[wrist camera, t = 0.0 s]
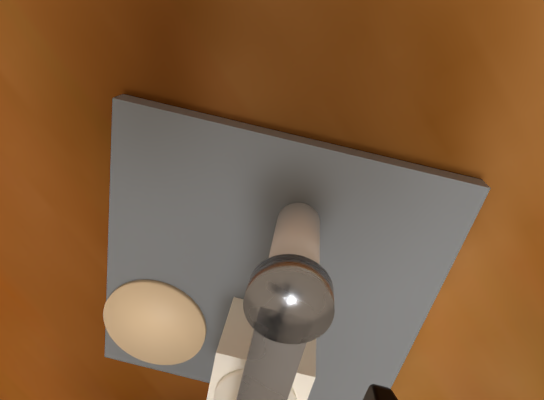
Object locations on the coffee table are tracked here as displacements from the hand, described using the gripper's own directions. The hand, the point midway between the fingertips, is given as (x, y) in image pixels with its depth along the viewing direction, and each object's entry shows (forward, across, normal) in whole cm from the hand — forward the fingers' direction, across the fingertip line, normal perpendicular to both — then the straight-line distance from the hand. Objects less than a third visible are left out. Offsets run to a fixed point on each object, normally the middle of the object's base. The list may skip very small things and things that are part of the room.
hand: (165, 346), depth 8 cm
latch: (+7, -3, +8) cm, 11 cm away
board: (+15, -2, +8) cm, 17 cm away
